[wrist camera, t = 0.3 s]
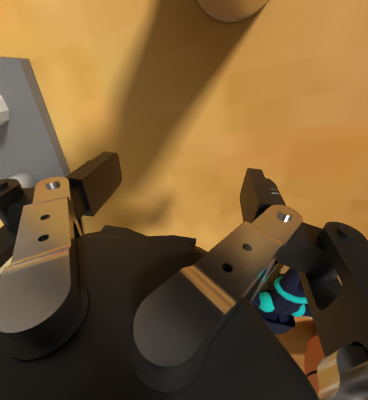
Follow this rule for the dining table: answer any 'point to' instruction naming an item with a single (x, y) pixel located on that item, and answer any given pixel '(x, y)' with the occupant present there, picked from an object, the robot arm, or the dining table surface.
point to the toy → (282, 303)
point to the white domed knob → (3, 111)
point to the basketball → (313, 360)
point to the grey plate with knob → (27, 128)
